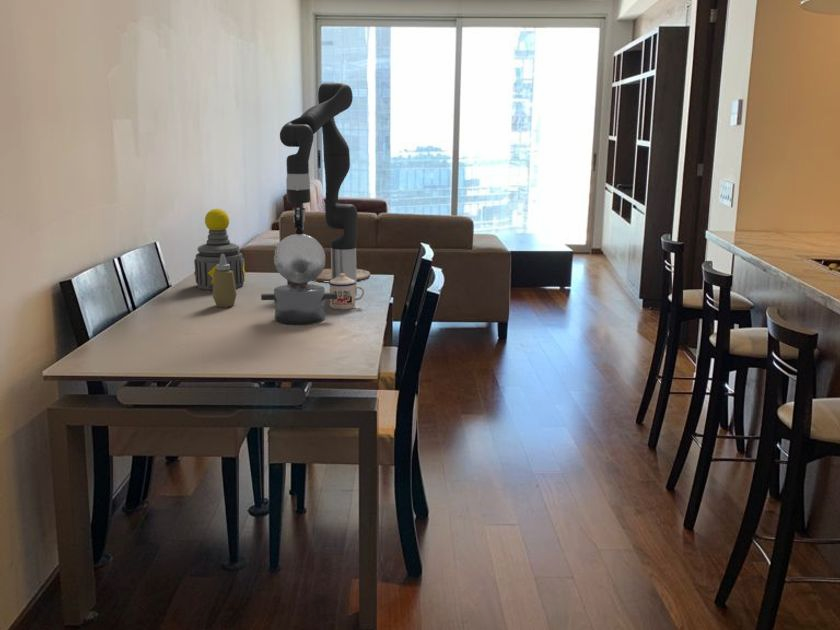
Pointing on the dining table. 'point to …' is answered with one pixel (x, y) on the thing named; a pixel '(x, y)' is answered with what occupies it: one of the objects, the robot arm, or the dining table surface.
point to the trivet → (327, 275)
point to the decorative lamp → (217, 252)
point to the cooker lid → (299, 258)
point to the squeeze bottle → (224, 284)
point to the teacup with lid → (344, 292)
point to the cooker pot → (299, 303)
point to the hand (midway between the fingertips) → (299, 241)
